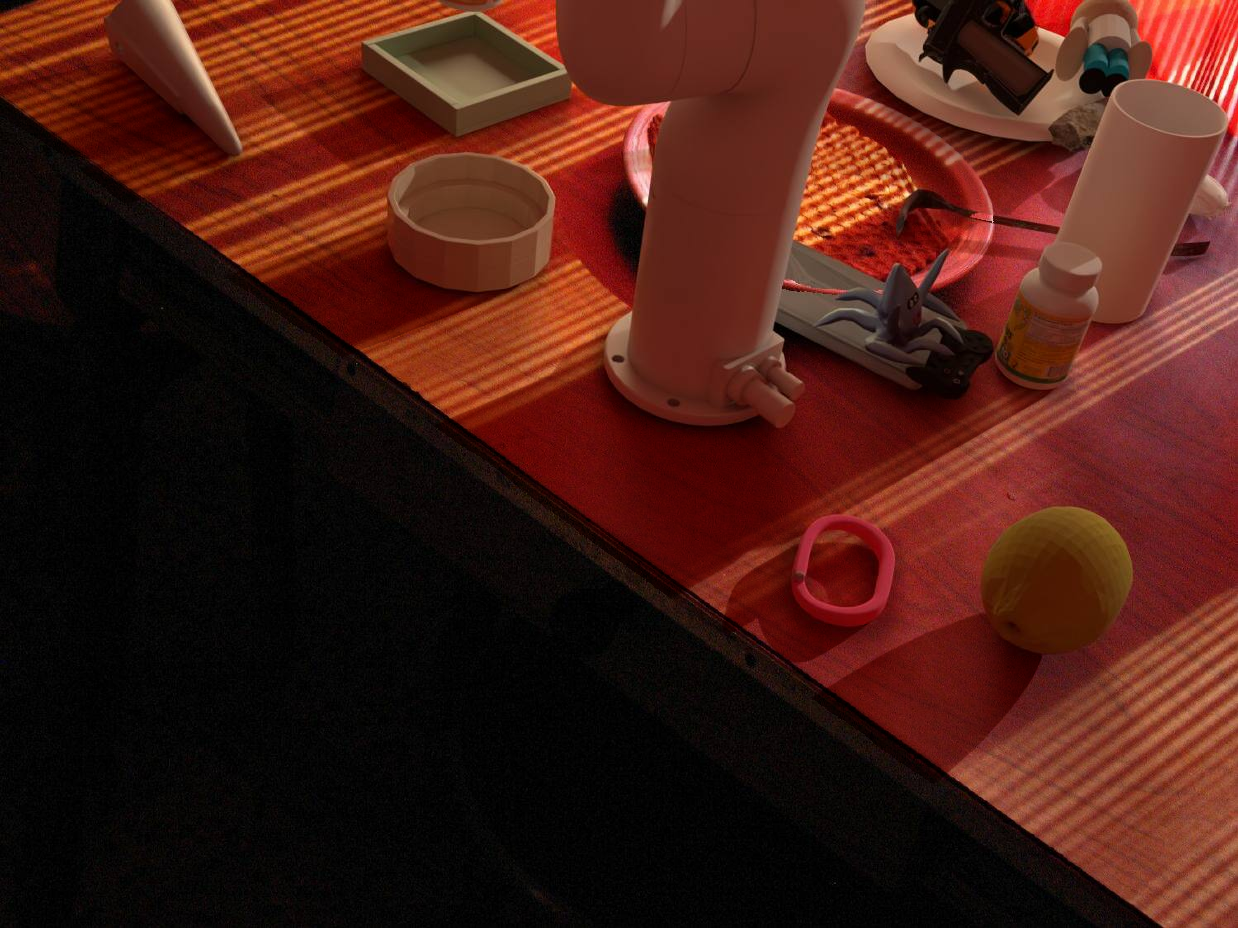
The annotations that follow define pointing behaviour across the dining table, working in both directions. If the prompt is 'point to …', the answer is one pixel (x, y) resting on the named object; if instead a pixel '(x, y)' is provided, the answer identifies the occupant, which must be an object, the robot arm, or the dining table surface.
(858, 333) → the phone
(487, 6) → the pill bottle
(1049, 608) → the lemon
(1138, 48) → the toy
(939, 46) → the handgun
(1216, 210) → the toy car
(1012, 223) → the crowbar
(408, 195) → the bowl
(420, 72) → the tray
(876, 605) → the fitness band
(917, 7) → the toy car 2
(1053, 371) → the supplement bottle
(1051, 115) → the plate
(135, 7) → the long tapered cone
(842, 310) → the figurine
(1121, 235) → the cup
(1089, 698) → the dining table surface
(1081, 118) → the stone
